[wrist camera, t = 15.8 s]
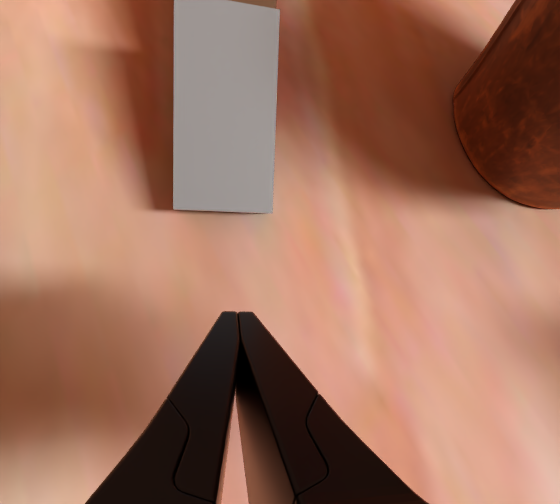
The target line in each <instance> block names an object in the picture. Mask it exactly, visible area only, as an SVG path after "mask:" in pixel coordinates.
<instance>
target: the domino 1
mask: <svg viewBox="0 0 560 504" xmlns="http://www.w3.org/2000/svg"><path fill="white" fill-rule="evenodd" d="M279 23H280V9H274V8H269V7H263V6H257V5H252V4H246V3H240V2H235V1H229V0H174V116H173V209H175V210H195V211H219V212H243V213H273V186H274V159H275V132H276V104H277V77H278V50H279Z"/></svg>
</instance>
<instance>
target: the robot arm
mask: <svg viewBox="0 0 560 504" xmlns="http://www.w3.org/2000/svg"><path fill="white" fill-rule="evenodd" d="M235 395H236V405H237V413H238V421H239V429H240V437H241V445H242V453H243V460H244V468H245V476H246V484H247V492H248V500H249V504H429V503H428V502H426V501H425V500H423V499H422V498H421V497H420V496H418V495H417V494H416V493H415V492H414V491H413V490H412V489H410V488H409V487H408V486H407V485H406V484H405V483H404V482H403V481H402V480H401V479H400V478H399V477H398V476H397V475H396V474H395V473H394V472H393V471H392V470H391V469H390V468H389V467H388V466H387V465H386V464H385V463H384V462H383V461H382V460H381V459H380V458H379V457H378V456H377V455H376V454H375V453H374V452H373V451H372V450H371V449H370V448H369V447H368V446H367V445H366V444H365V443H364V442H363V441H362V440H361V439H360V438H359V437H358V436H357V435H356V434H355V433H354V432H353V431H352V430H351V429H350V428H349V427H348V426H347V425H346V424H345V423H344V422H343V420H342V419H341V418H340V417H339V416H338V415H337V413H336V412H335V411H334V410H333V409H332V408H331V407H330V405H329V404H328V403H327V402H326V401H325V399H324V398H323V397H322V396H321V395H320V394H318V391H317V390H316V389H315V387H314V386H313V385H312V384H311V382H310V381H309V380H308V379H307V378H306V376H305V375H304V374H303V373H302V371H301V370H300V369H299V368H298V367H297V365H296V364H295V363H294V362H293V360H292V359H291V358H290V357H289V356H288V354H287V353H286V352H285V351H284V349H283V348H282V347H281V346H280V345H279V343H278V342H277V341H276V340H275V338H274V337H273V336H272V335H271V334H270V332H269V331H268V330H267V329H266V327H265V326H264V325H263V324H262V323H261V321H260V320H259V319H258V318H257V316H256V315H255V314H254V313H253V312H239V313H238V314H237V312H235V311H223V312H222V313H221V314H220V316H219V317H218V319H217V321H216V322H215V324H214V325H213V327H212V328H211V330H210V331H209V333H208V334H207V336H206V338H205V339H204V341H203V342H202V344H201V345H200V347H199V348H198V350H197V351H196V353H195V355H194V356H193V358H192V359H191V361H190V362H189V364H188V365H187V367H186V368H185V370H184V371H183V373H182V375H181V376H180V378H179V379H178V381H177V382H176V384H175V385H174V387H173V388H172V390H171V392H170V393H169V395H168V396H167V399H166V400H165V401H164V402H163V404H162V405H161V407H160V408H159V410H158V411H157V413H156V414H155V416H154V417H153V419H152V420H151V421H150V423H149V424H148V426H147V427H146V429H145V430H144V432H143V433H142V434H141V435H140V437H139V438H138V439H137V441H136V442H135V443H134V444H133V446H132V447H131V448H130V449H129V451H128V452H127V453H126V455H125V456H124V457H123V458H122V459H121V461H120V462H119V463H118V464H117V465H116V467H115V468H114V469H113V470H112V471H111V473H110V474H109V475H108V476H107V478H106V479H105V480H104V481H103V482H102V484H101V485H100V486H99V487H98V488H97V490H96V491H95V492H94V493H93V494H92V496H91V497H90V498H89V499H88V500H87V502H86V503H85V504H221V500H222V492H223V484H224V476H225V468H226V461H227V453H228V445H229V437H230V429H231V421H232V413H233V405H234V396H235Z"/></svg>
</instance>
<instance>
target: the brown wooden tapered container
mask: <svg viewBox="0 0 560 504" xmlns="http://www.w3.org/2000/svg"><path fill="white" fill-rule="evenodd" d="M453 102H454V119H455V124H456V128H457V132H458V135H459V137H460V140H461V142H462V145H463V147H464V149H465V151H466V153H467V155H468V157H469V159H470V160H471V162H472V164H473V165H474V167H475V168H476V169H477V171H478V172H479V173H480V175H481V176H482V177H483V178H484V179H485V180H486V181H487V182H488V183H489V184H490V185H491V186H492V187H494V188H495V189H496V190H497V191H499V192H500V193H502V194H503V195H505V196H506V197H508V198H510V199H512V200H514V201H516V202H519V203H522V204H525V205H529V206H533V207H538V208H544V209H560V0H516V1H515V2H514V4H513V5H512V7H511V8H510V10H509V11H508V13H507V14H506V16H505V17H504V19H503V21H502V22H501V24H500V25H499V27H498V28H497V30H496V31H495V33H494V34H493V36H492V37H491V39H490V41H489V42H488V44H487V45H486V46H485V48H484V49H483V51H482V52H481V54H480V55H479V57H478V58H477V60H476V61H475V63H474V64H473V65H472V67H471V68H470V69H469V71H468V72H467V74H466V75H465V76H464V78H463V79H462V80H461V81H460V83H459V84H458V86H457V87H456V89H455V91H454V96H453Z"/></svg>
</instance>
